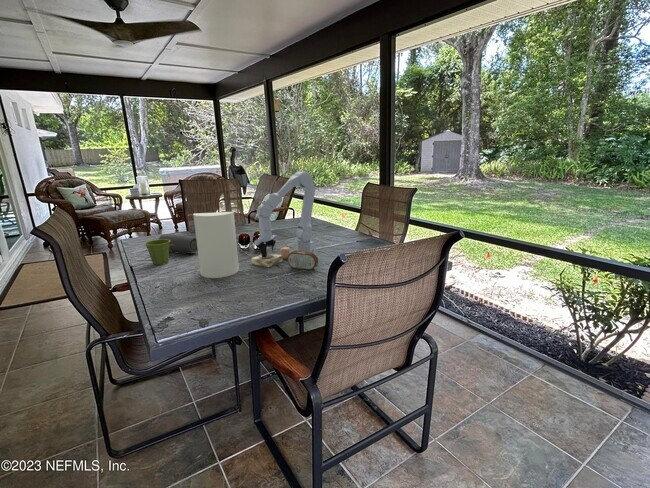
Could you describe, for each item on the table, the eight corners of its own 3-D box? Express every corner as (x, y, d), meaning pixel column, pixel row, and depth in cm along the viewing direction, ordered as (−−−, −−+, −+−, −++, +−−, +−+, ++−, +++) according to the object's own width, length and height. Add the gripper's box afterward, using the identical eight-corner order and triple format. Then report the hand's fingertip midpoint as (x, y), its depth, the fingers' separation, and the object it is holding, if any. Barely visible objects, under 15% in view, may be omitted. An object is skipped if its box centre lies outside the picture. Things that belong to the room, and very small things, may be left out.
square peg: (272, 259, 170) (271, 245, 168) (267, 261, 166) (266, 247, 164) (266, 257, 172) (265, 244, 170) (261, 260, 168) (260, 246, 166)
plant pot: (178, 261, 174) (175, 240, 171) (159, 268, 164) (155, 245, 161) (162, 258, 179) (159, 238, 176) (142, 265, 169) (138, 243, 166)
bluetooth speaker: (158, 252, 189) (155, 235, 187) (171, 248, 198) (168, 232, 195) (189, 256, 181) (187, 239, 178) (201, 252, 189) (199, 235, 187)
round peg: (292, 257, 178) (291, 248, 176) (286, 259, 173) (285, 250, 172) (284, 255, 180) (284, 246, 179) (278, 258, 176) (278, 249, 175)
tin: (318, 269, 158) (318, 252, 156) (316, 271, 156) (315, 254, 153) (289, 266, 163) (288, 249, 161) (286, 268, 160) (286, 251, 158)
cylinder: (237, 276, 151) (231, 215, 143) (197, 279, 148) (189, 216, 141) (240, 264, 167) (235, 208, 160) (204, 266, 164) (197, 210, 157)
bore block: (282, 261, 171) (282, 255, 170) (268, 267, 162) (268, 261, 161) (266, 257, 176) (266, 252, 176) (251, 263, 167) (251, 258, 167)
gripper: (268, 225, 173) (270, 250, 176) (248, 231, 161) (251, 258, 164) (279, 227, 169) (280, 252, 173) (259, 232, 157) (261, 260, 161)
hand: (267, 255), depth 168 cm, fingers closed on square peg, 4 cm apart
